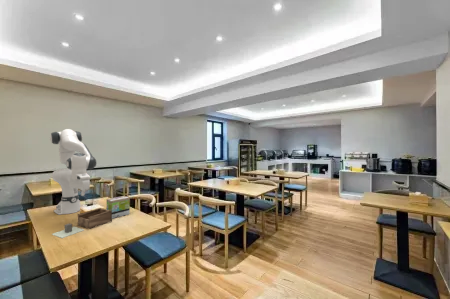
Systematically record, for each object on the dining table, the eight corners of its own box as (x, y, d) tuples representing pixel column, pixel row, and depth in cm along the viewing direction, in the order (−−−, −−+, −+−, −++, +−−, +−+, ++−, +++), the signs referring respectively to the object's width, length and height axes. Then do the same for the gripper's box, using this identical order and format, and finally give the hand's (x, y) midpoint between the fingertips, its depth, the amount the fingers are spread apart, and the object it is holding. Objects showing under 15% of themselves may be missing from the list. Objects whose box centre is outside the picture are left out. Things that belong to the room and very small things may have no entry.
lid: (51, 235, 133) (51, 226, 133) (74, 227, 145) (74, 219, 145) (61, 239, 127) (61, 230, 127) (84, 231, 139) (84, 222, 139)
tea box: (111, 219, 160) (111, 201, 160) (106, 216, 166) (106, 198, 166) (130, 214, 172) (129, 197, 172) (124, 211, 178) (124, 195, 178)
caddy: (77, 225, 148) (77, 214, 148) (100, 217, 163) (99, 208, 163) (89, 229, 141) (89, 217, 141) (111, 221, 156) (111, 210, 156)
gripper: (66, 174, 147) (66, 193, 147) (82, 177, 137) (81, 197, 138) (76, 173, 152) (76, 191, 153) (91, 176, 143) (91, 195, 144)
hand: (79, 194), depth 145 cm, fingers open, 8 cm apart
